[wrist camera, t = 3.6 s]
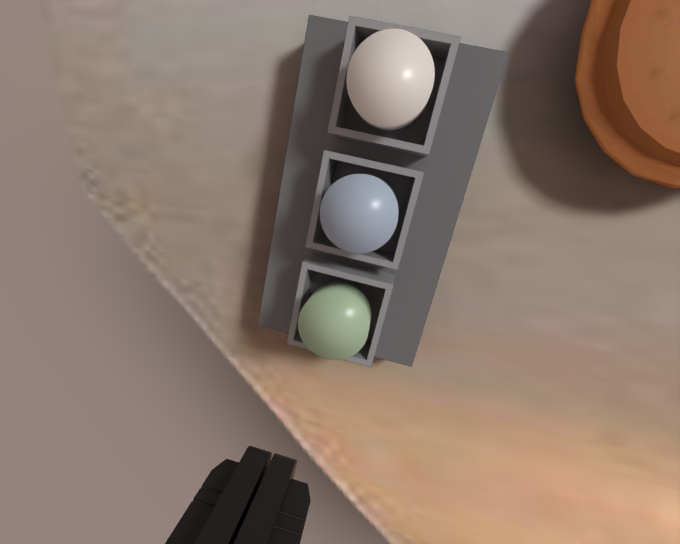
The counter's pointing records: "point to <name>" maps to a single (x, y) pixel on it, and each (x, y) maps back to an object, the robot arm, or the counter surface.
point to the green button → (335, 321)
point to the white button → (390, 78)
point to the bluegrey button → (359, 213)
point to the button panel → (385, 163)
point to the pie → (633, 85)
